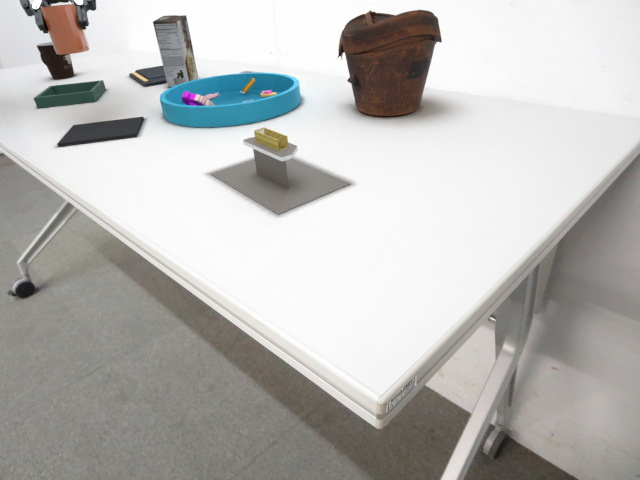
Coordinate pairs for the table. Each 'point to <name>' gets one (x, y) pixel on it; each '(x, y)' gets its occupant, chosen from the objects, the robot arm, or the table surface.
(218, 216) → the table surface
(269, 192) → the platform
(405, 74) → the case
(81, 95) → the compartment
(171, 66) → the coffee box
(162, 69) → the wallet
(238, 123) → the blue plastic shallow tray
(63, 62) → the coffee mug
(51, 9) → the cup
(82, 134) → the mat
